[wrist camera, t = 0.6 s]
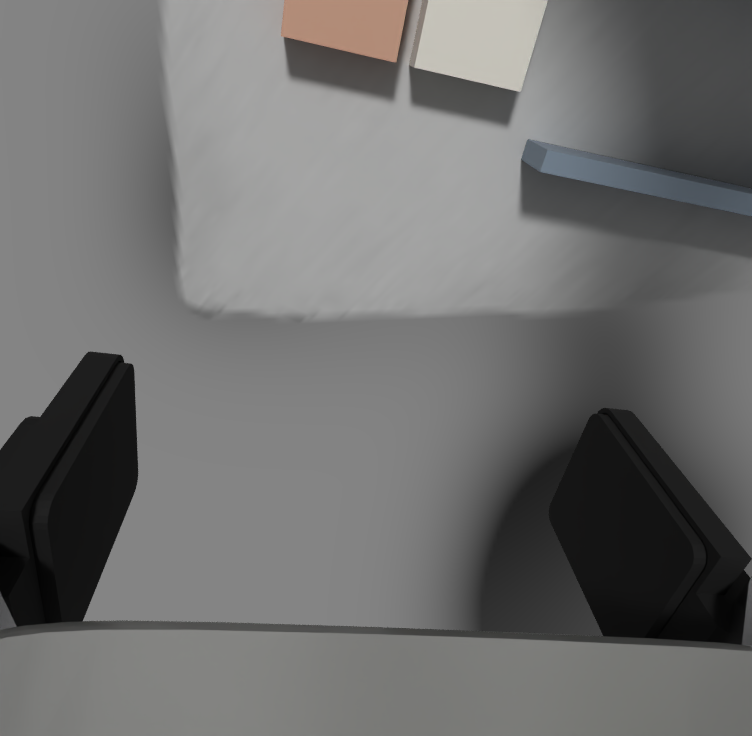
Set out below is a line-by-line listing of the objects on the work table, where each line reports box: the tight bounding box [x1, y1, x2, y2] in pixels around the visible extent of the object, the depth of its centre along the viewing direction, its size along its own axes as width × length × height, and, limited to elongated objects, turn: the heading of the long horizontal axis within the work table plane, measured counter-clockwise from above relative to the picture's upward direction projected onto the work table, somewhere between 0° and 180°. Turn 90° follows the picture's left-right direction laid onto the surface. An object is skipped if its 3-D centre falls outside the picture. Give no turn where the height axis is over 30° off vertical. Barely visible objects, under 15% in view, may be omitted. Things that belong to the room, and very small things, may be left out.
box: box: [521, 139, 752, 216], centre depth 32 cm, size 13×19×4 cm
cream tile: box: [409, 0, 548, 92], centre depth 30 cm, size 6×6×2 cm
